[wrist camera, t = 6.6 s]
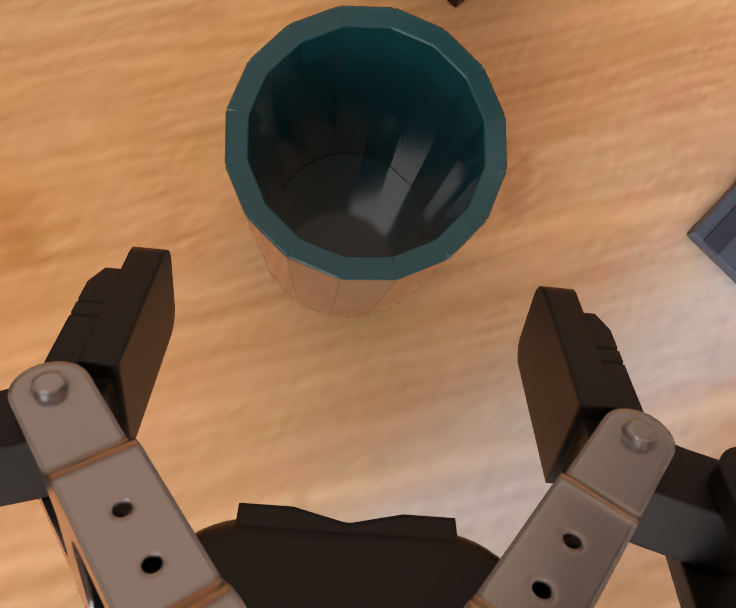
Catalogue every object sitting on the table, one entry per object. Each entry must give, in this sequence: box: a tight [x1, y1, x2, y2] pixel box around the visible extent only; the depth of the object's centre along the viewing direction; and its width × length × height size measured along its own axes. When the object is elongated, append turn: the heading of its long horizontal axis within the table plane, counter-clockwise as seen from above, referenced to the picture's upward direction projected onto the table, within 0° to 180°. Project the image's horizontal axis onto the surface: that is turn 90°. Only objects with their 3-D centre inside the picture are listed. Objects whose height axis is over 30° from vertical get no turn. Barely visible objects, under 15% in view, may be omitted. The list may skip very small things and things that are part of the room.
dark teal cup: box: [225, 6, 507, 317], centre depth 19 cm, size 6×6×9 cm
